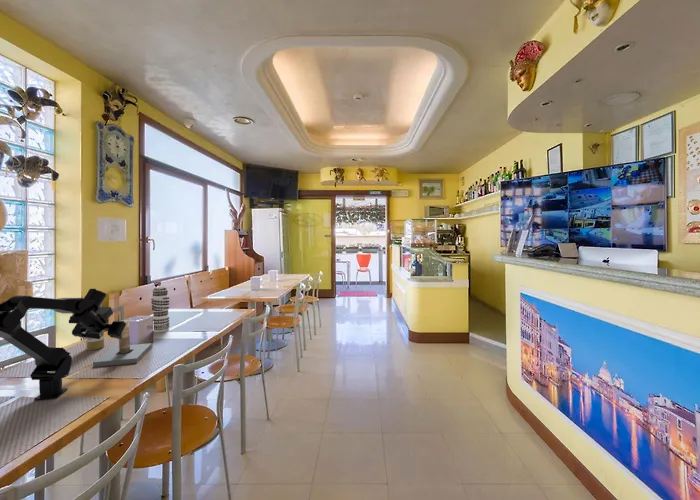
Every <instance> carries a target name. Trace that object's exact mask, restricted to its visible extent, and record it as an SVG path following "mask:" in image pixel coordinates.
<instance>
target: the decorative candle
mask: <svg viewBox="0 0 700 500" xmlns="http://www.w3.org/2000/svg"><path fill="white" fill-rule="evenodd" d="M151 291H152V298H151V299H150V300H151V307H152V308H151V310H152V314H153V315H152V319H153V320H152V322H153V321H154V323H153V324H154V332H153V333H163V332H167V331H169V330H170V327H171V326H170V316H169V310H170V306H169V305H170V303H169V302H170V300H169V299H170V296H169V294H168V293H169V289H168V288H167V287H166V286H157V287H156V286H155V287H154V288H153V289H152V290H151Z"/></svg>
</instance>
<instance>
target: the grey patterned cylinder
mask: <svg viewBox="0 0 700 500" xmlns="http://www.w3.org/2000/svg"><path fill="white" fill-rule="evenodd" d="M100 307H104V301H103V302H102V304H101V305H100ZM98 334H99V335H100V339H93V338H85V339H86V342H85V343H86V350H89V351H95V350H100V349H102V348H104V346H105V330H102V331H101V332H100V333H98Z"/></svg>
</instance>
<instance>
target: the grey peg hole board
mask: <svg viewBox="0 0 700 500" xmlns="http://www.w3.org/2000/svg"><path fill="white" fill-rule="evenodd" d="M152 347H153V345H152V343H151V342H150V343H140V344H130V353H129V354H119V345H114V346H113V347H111V348H109V349H108V350H107V351H106V352H104V353H103V354H102V355H100V356H99V357H98V358H97V359H95V360H93V361H92V367H93V368H96V367H107V366H116V365H128V364H138V363H139V362H140V360H141V359H142V358H143V357H144V356H145V355H146V354H147V353H148V352H149V351H150V350H151V349H152Z"/></svg>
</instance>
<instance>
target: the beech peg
mask: <svg viewBox="0 0 700 500" xmlns="http://www.w3.org/2000/svg"><path fill="white" fill-rule="evenodd" d="M123 321H124V322H125V323H126V326H125V327H124V329H123V331H122V333H121V334H122V338H121V339H118V346H119V354H129V353H130V345H131V340H130V339H131V335H130V334H131V333H130V320H123Z"/></svg>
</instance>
